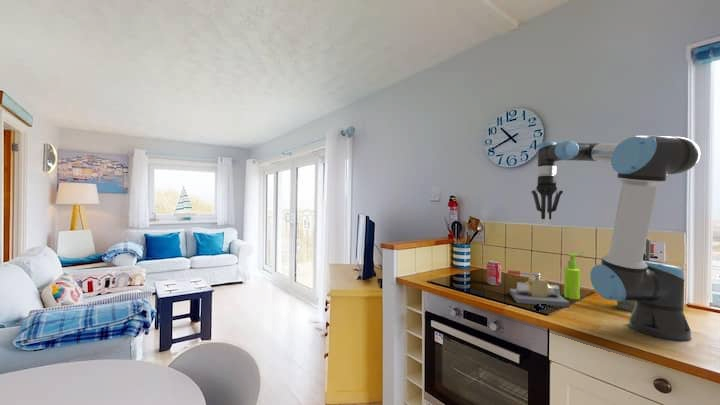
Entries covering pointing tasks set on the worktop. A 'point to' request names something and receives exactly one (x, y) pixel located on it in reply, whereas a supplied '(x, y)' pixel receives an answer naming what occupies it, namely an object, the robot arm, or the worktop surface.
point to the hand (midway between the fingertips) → (546, 226)
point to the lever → (524, 273)
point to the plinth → (539, 299)
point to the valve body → (538, 288)
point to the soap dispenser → (572, 279)
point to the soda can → (493, 273)
